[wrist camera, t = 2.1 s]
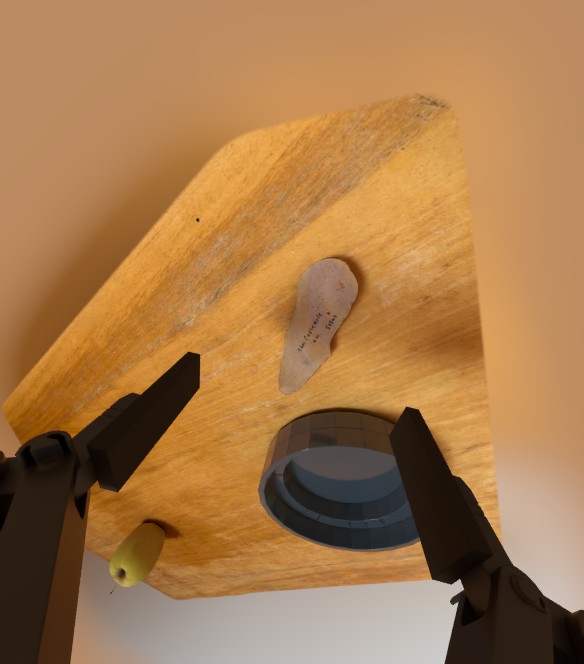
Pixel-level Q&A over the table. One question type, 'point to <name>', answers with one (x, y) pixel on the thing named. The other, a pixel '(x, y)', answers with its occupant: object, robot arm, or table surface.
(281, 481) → the bowl
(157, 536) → the apple
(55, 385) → the table surface
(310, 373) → the stone tool
